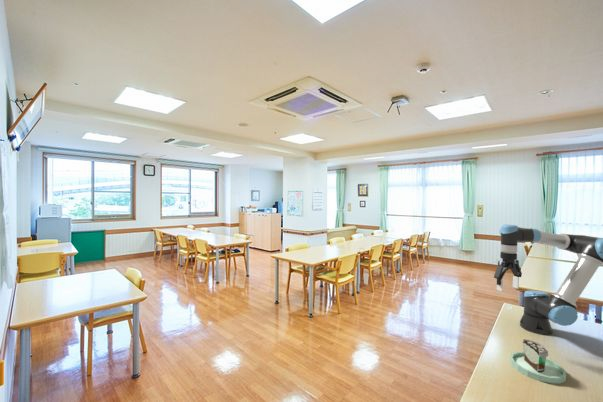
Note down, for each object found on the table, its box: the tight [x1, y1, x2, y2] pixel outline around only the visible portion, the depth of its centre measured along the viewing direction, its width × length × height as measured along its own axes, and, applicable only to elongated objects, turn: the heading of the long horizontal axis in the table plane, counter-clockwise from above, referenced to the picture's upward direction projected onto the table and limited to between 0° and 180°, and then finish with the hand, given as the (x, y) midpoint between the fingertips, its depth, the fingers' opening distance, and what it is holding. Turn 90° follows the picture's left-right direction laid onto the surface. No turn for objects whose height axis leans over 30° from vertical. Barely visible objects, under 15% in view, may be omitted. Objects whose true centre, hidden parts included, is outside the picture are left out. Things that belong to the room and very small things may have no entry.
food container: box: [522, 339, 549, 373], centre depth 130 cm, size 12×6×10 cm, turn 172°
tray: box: [509, 351, 567, 385], centre depth 130 cm, size 20×20×2 cm
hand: (507, 289), depth 156 cm, fingers open, 13 cm apart
